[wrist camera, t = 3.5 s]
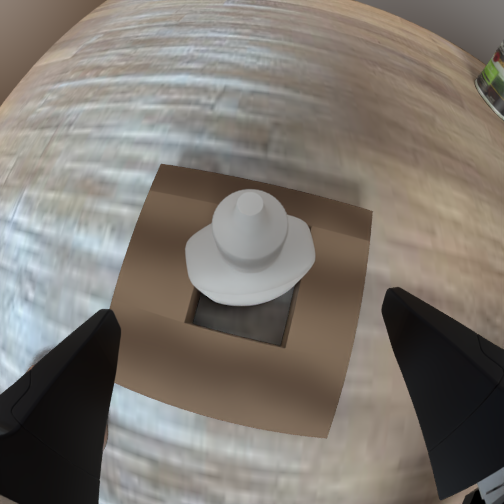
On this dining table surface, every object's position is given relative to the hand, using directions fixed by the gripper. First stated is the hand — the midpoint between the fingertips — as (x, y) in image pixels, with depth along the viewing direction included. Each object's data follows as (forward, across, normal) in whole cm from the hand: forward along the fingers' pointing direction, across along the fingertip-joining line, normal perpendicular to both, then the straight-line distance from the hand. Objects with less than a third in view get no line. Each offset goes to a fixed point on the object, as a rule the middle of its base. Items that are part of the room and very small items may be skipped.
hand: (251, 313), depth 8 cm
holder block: (+8, +1, +6) cm, 10 cm away
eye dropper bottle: (+9, 0, +5) cm, 11 cm away
